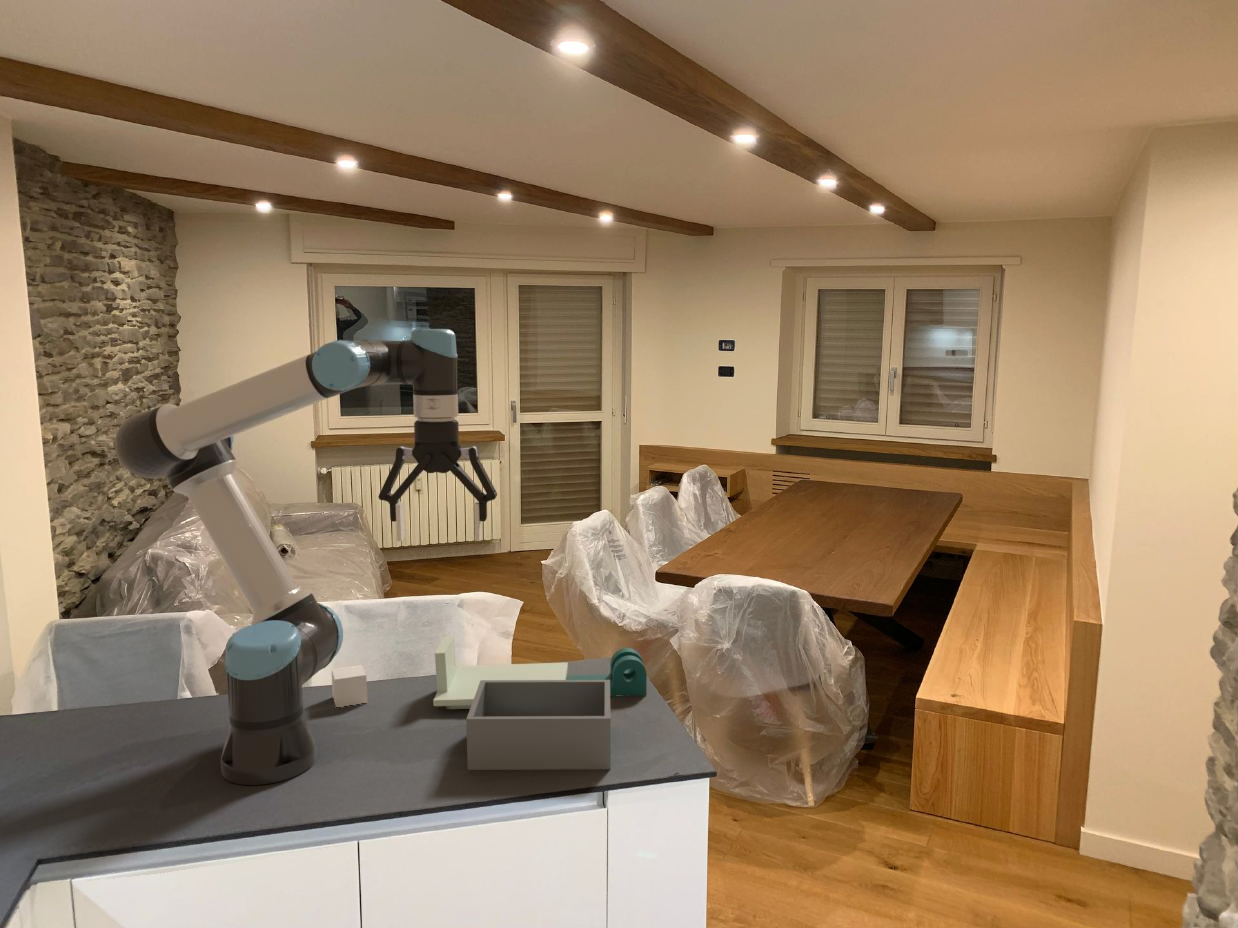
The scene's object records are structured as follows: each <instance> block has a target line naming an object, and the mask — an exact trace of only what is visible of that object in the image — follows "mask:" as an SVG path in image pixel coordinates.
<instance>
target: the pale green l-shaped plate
mask: <svg viewBox="0 0 1238 928" xmlns="http://www.w3.org/2000/svg"><path fill="white" fill-rule="evenodd" d="M455 647H456V646H455V636H454V635H449V636H448V635H447V636H443V638H442V639H441V642H440V643H439V645H438V647H437V649H436V650H435V653H434V660H435V661H434V662H435V676H436V677H435V678H436V694H435V696H434V698H433V701H432V702H433V707H445V710H462V709H466V710H467V709H469V710H470V708H471V705H472V702H473V700H474V697H475V694H476V692H477V689H478V686H479V683H480V681H481V680H566V678H567V676H568V670H569V664H568V661H567V662H545V663H544V662H541V663H539V662H538V663H537V662H536V663H510V664H508V663H507V664H481V665H457V663H456V648H455Z"/></svg>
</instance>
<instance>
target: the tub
mask: <svg viewBox="0 0 1238 928" xmlns="http://www.w3.org/2000/svg"><path fill="white" fill-rule="evenodd" d="M465 723H466V751H467V752H466V754H467V755H466V757H467V762H466V763H467V764H466V765H467V771H501V770H502V771H514V770H515V771H516V770H517V771H519V770H524V771H525V770H528V771H529V770H531V771H532V770H537V771H539V770H540V771H543V770H545V771H546V770H552V771H553V770H611V697H610V680H481V681H480V683H479V686H478V689H477V692H476V694H475V697H474V700H473V702H472V705H471V708H470V709H469V712H468V714H467V716H466V722H465Z"/></svg>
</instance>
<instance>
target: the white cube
mask: <svg viewBox="0 0 1238 928" xmlns="http://www.w3.org/2000/svg"><path fill="white" fill-rule="evenodd" d="M331 683H332V684H331V688H332V689H331V691H332V699H334V700H333V702H335V703H334V706H335V705H336V706H335V708H336V707H341V708H345V707H344V706H348V707H350V706H349V705H354V706H357V705H356V704H360V705H362V704H361V703H367V704H368V685H367V684H368V682H367V674H366V671H365V668H364V667H363V664H359V665H351V666H345V667H343V666H342V667H337V668H331Z"/></svg>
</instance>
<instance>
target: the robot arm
mask: <svg viewBox="0 0 1238 928" xmlns="http://www.w3.org/2000/svg"><path fill="white" fill-rule="evenodd" d="M410 334H411V335H410V336H411V337H410V339H407V340H378V339H377V340H375V339H374V340H373V339H372V340H371V339H370V340H369V339H358V340H348V339H338V340H334V341H330V342H327V343H325V344H323V345H321V346H320V347H319V348H318V349H317V350H316V351H314V352H312V353H309V354H306V355H303V356H302V357H299V358H296V359H294V360H291V361H288V362H286V363H283V364H281V365H279V366H277V367H274V368H271V369H268V370H266V371H263V372H261V373H259V374H256V375H253V376H250V377H249V378H246V379H244V380H241V381H239V382H236V383H234V384H230V385H228V386H225V387H222V388H220V389H218V390H216V391H213V392H211V393H209V394H206V395H202V396H200V397H199V398H196V399H194V400H190V401H188V402H186V403H183V404H180V405H176V404H172V403H167V404H166V403H165V404H163V405H161V406H158V407H155V408H153V409H149V410H145V411H141V412H137V413H134V414H133V415H131V416H129V417H128V418H126V420H124V421H123V422H122V423H121V425H120V426H119V427H118V429H117V431H116V434H115V437H114V450H115V453H116V457H117V459H118V460H119V462H120V463H121V465H122V466H123V467H124V468H125V469H127V470H128V472H129V473H131V474H134V475H136V476H138V477H142V478H147V479H152V480H153V479H163V478H166V480H167V482H168V484H169V486H170V487H171V489H172V491H173V492H174V493H177V494H180V495H183V496H186V497H187V498H188V500H189V501H190V503H191V505H192V507H193V509H194V510H195V512H196V514H197V515H198V517H199V519H200V521H201V522H202V524H203V526H204V528H205V529H206V530H207V532H208V535H209V537H211V540H212V541H213V543H214V544H215V547H216V549H217V550H218V552H219V554H220V556H221V557H222V558H223V561H224V562H225V564H226V566H227V568H228V569H229V571H230V572H231V574H232V576H233V578H234V580H235V582H236V583H237V585H238V586H239V588H240V590H241V592H242V593H243V595H244V597H245V599H246V600H247V602H248V604H249V606H250V607H251V609H252V611H253V617H252V620H251V623H250V625H249V624H248V625H246V626H244V627H242V628H240V629H238V630H236V631H235V632H234V633H233V634H232V635H231V636H230V637H229V638H228V640H227V642H226V645H225V657H224V669H225V674H226V687H227V688H226V689H227V702H228V703H227V704H228V714H229V715H228V716H229V728H228V732H227V735H226V738H225V742H224V745H223V748H222V753H221V756H220V773H221V776H222V777H223V778H224V780H226V781H228V782H231V783H234V784H237V785H247V786H258V785H268V784H274V783H278V782H282V781H286V780H288V779H289V780H290V779H293V778H294V777H296V776H299V775H301V774H302V773H304V772H306V771H307V770H308V769H310V768H311V767H312V766H313V765H314V764H315V762H316V761H317V745H316V742H315V738H314V737H313V735H312V732H311V729H310V726H309V725H308V723H307V720H306V718H305V715H304V701H303V685H305V683H307V682H308V681H309V680H310V679H312V678H313V677H314V676H315V675H316V674H317V673H319V672H320V671H321V670H323V669H325V668H327V667H328V666H329V664H331V662H332V661H333V659H334V658H335V657H336V656H337V655H338V653H339V651H340V650H341V648H342V644H343V642H344V641H343V640H344V628H343V624H342V622H341V619H340V618H339V615H338V614H337V613H336V611H334V610H333V609H332V608H331V607H330V606H328V605H324V604H323V603H319V602H318V601H317V599H316V598H315V596H314V595H313V593H312V592H311V590H308V589H304V588H300V587H299V586H298V584H297V582H296V581H295V579H294V577H293V576H292V575H293V574H292V573H291V571H290V570H289V569H288V567H287V565H286V563H285V561H284V560H283V558H282V557H281V554H280V552H279V550H278V548H276V545H275V544H274V542H273V541H272V538H271V537H270V535H269V533H268V532H267V530H266V528H265V526H264V525H263V523H262V521H261V520H260V518H259V516H258V514H257V512H256V510H255V509H254V507H253V505H252V503H251V502H250V499H249V498H248V496H247V495H246V493H245V491H244V489H243V487H242V486H241V484H240V482H239V481H238V479H237V477H236V475H235V470H236V465H237V464H238V461H237V459H236V457H235V456H234V454H233V452H232V451H233V442H234V436H235V435H238V434H241V433H243V432H246V431H247V430H248V431H249V430H251V429H253V428H255V427H259V426H261V425H263V424H266V423H269V422H271V421H273V420H276V419H279V418H281V417H285V416H287V415H288V414H291V413H293V412H294V413H295V412H296V411H299V410H301V409H304V408H306V407H309V406H312V405H314V404H317V403H319V402H320V403H321V401H324V400H327V399H330V398H332V397H336V396H338V395H341V394H343V393H346V392H349V391H352V390H354V389H358V388H365V387H369V386H378V385H412V388H413V389H412V396H413V397H412V398H413V399H412V401H413V402H412V403H413V416H414V418H417V419H416V420H415V421H414V423H413V426H414V427H413V433H414V434H413V435H414V445H413V446H414V447H413V448H411V447H406V446H404V445H401V446H399V447H397V448H396V449H395V460H394V461H393V464H392V467H391V469H390V471H389V473H388V474H387V477H386V479H385V481H384V483H383V486H382V488H381V490H380V491H379V494H378V496H377V497H378V500H379V501H384V502H387V503H388V504H389V515H390V516H389V517H390V522H394V523H395V525H396V528H395V530H396V542H402V541H403V540H404V539H405V511H404V510H405V509H404V501H399V500H400V499H401V498H402V497H403V496H404V494H405V493H406V492H407V491H408V489H409V488H410V487H411V486H412V485H413V483H414V482H415V481H416V479H418V477H419V476H420V475H421V474H422V472H425V473H427V474H433V473H440V474H446V473H449V472H450V473H451V474H453V476H454V477H456V478H457V479H458V480H459V482H460V483H461V484H462V485H463V486H464V487H465V488H466V489H467V491H468V492H469V493H470V494H471V495H472V496H473V497H474V498H475V500H477V501H475V503H474V504H473V505H474V512H473V513H474V514H473V515H474V542H480V541H481V539H482V522H486V520H487V519H488V502H490V501H495V499H496V498H497V496H498V492H497V491H496V489H495V487H494V484H493V483H492V480H491V479H490V477H489V475H488V473H487V471H486V469H485V467H484V465H483V463H482V462H481V460H480V457H479V450H478V447H477V446H476V445H472V446H471V447H464V448H462V447H461V446H460V445H461V444H460V437H459V435H460V433H459V421H458V420H457V419H456V418H457V417H458V416H459V395H458V394H459V393H458V354H457V342H456V341H457V339H456V333H454V331H453V330H451V329H448V328H415V329H413V330H412V331H411V333H410ZM410 456H412V457H413V458H414V460H415V461H416V462H417V465H416V466H415V467H413V469H412V471H411V472H410V473H409V474H408V476H407V477H406V478H405V479H404V480H403V482H402V483H401V484H400V485H399V486H398V488H397V489H396V490H395V491H394V493H391V491H392V489H393V488H394V485H395V483H396V482H397V481H396V480H397V479H398V476H399V475H400V472H401V470H402V469H403V467H404V464H405V461H407V460H409V459H410ZM462 456H464V457H465V460H467V461H469V462H470V465H471V466H472V469H473V470H474V473H475V474H476V476H477V478H478V480H479V482H480V484H481V486H482V488H483V490H484V491H485V493H484V492H483V490H482V489H481V488H480V486H478V485H477V484H476V483H475V481H474V480H473V479H472V478H471V477H470V476H469V475H468V473H467V472H466V471H465V470H464V469H463V466H462V465H461V464H460V463H459V462H458V461H459V459H460V458H461V457H462Z"/></svg>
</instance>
